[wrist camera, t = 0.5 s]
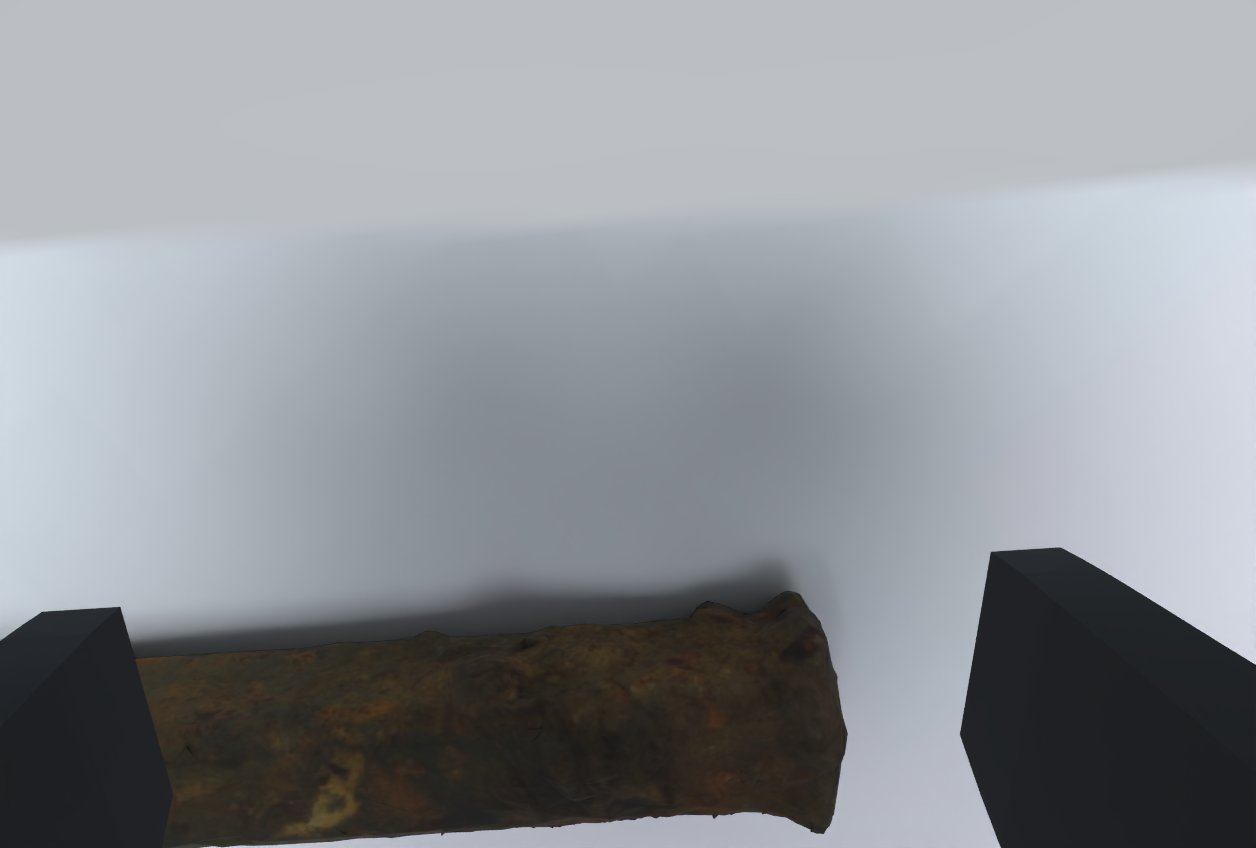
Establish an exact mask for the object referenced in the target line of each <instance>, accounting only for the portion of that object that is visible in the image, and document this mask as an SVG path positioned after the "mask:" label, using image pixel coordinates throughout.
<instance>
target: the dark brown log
mask: <svg viewBox="0 0 1256 848" xmlns="http://www.w3.org/2000/svg"><path fill="white" fill-rule="evenodd" d="M135 661H136V664H137V668H138V671H139V675H140V678H141V682H142V685H143V689H144V692H145V696H146V699H147V703H148V706H149V710H150V714H151V717H152V721H153V724H154V728H155V731H156V735H157V738H158V742H159V745H160V749H161V752H162V756H163V759H164V763H165V766H166V770H167V773H168V777H169V781H170V784H171V788H172V791H173V798H172V803H171V807H170V812H169V816H168V820H167V825H166V829H165V834H164V838H163V842H162V847H161V848H201V847H209V846H217V847H229V846H239V845H246V846H258V845H282V844H299V843H317V842H333V841H341V840H349V839H357V838H384V837H387V838H394V837H402V836H410V835H423V834H435V833H441V836H442V835H443V834H444V833H452V832H473V831H482V830H504V829H509V828H518V827H532V828H535V827H551V828H553V827H561V826H565V825H572V824H573V825H574V824H581V823H602V822H603V823H605V822H612V821H616V820H618V821H622V820H636V819H637V818H643V817H649V816H652V817H653V818H658V817H671V816H676V815H712V816H713V818H716V817H717V816H718V815H728V814H730V815H732V814H735V813H741V812H759V813H762V814H766V813H767V814H770V815H773V816H779V817H786V818H788V819H790V820H792V821H793V822H795V823H797V824H799V825H802V826H804V827H806V828H808V829H811V832H814V833H816V834H820V833H821V834H824V833H825V831H826V829H827V828H828V827H829V826H830V823H831V821H832V816H833V815H834V810H835V803H836V797H837V790H838V784H839V777H840V770H841V762H842V760H843V757H844V755H845V749H846V742H847V735H848V733H847V730H846V726H845V723H844V719H843V715H842V711H841V704H840V698H839V691H838V685H837V678H838V677H837V675H836V673H835V671H834V669H833V666H832V662H831V657H830V652H829V647H828V642H827V638H826V636H825V633H824V631H823V629H822V626H821V622H820V621H819V620H818V618H817V617H816V616H815V614H814V613H812V612H811V611H810V610H809V608H808V606H807V605H806V603H805V602H804V600H803V599H802V597H801V596H800V594H798V593H796V592H791V591H784V592H783V593H781V594H780V595H778V596H777V597H775V598H774V599H773V600H772V601H771V602H770V603H769V604H768V605H767V606H765V607H764V608H763V609H762V610H761V611H760V612H759V613H754V614H749V615H746V614H743V613H740V612H738V611H735V610H733V609H730V608H728V607H725V606H723V605H721V604H718V603H713V602H709V601H707V602H705V603H703V604H701V605H699V606H698V607H697V609H696V610H695V612H694V613H693V615H692V616H691V618H683V619H675V620H664V621H652V622H644V623H636V624H629V625H594V624H581V625H573V626H564V627H548V628H545V629H542V630H539V631H537V632H534V633H521V634H499V635H483V636H460V637H448V636H446V635H443V634H441V633H438V632H432V631H425V632H423V633H421V634H419V635H417V636H415V637H413V638H410V639H399V640H388V641H377V642H340V643H335V644H330V645H325V646H320V647H312V648H297V649H283V650H268V651H249V652H238V653H211V654H196V655H180V656H166V657H153V658H141V659H135Z"/></svg>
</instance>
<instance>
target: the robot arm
mask: <svg viewBox="0 0 1256 848" xmlns="http://www.w3.org/2000/svg"><path fill="white" fill-rule="evenodd" d="M960 736H961V739H962V742H963V745H964V748H965V751H966V754H967V756H968V759H969V762H970V765H971V768H972V771H973V774H974V777H975V780H976V783H977V785H978V788H979V791H980V794H981V797H982V799H983V802H984V805H985V807H986V810H987V813H988V815H989V818H990V821H991V823H992V826H993V829H994V831H995V834H996V836H997V839H998V842H999V844H1000V846H1001V848H1256V665H1255V664H1253V663H1252V662H1250V661H1248V660H1247V659H1245V658H1244V657H1242V656H1240V655H1239V654H1237V653H1235V652H1234V651H1232V650H1231V649H1229V648H1227V647H1226V646H1224V645H1222V644H1221V643H1219V642H1218V641H1216V640H1214V639H1213V638H1211V637H1210V636H1208V635H1206V634H1205V633H1203V632H1201V631H1200V630H1198V629H1197V628H1195V627H1193V626H1192V625H1190V624H1189V623H1187V622H1185V621H1184V620H1182V619H1181V618H1179V617H1177V616H1176V615H1174V614H1173V613H1171V612H1169V611H1168V610H1166V609H1165V608H1163V607H1161V606H1160V605H1158V604H1156V603H1155V602H1153V601H1152V600H1150V599H1148V598H1147V597H1145V596H1144V595H1142V594H1140V593H1139V592H1137V591H1135V590H1134V589H1132V588H1130V587H1129V586H1127V585H1126V584H1124V583H1122V582H1121V581H1119V580H1117V579H1116V578H1114V577H1112V576H1111V575H1109V574H1107V573H1106V572H1104V571H1102V570H1101V569H1099V568H1097V567H1095V566H1094V565H1092V564H1090V563H1088V562H1087V561H1085V560H1083V559H1081V558H1079V557H1077V556H1076V555H1074V554H1072V553H1070V552H1068V551H1066V550H1064V549H1062V548H1044V549H1029V550H1013V551H997V552H991V555H990V560H989V566H988V572H987V578H986V584H985V590H984V596H983V602H982V608H981V614H980V619H979V625H978V631H977V637H976V643H975V649H974V655H973V661H972V667H971V673H970V678H969V684H968V690H967V696H966V702H965V708H964V714H963V720H962V726H961V731H960ZM172 798H173V791H172V788H171V784H170V781H169V777H168V773H167V770H166V766H165V763H164V759H163V756H162V752H161V749H160V745H159V742H158V738H157V735H156V731H155V728H154V724H153V721H152V717H151V714H150V710H149V706H148V703H147V699H146V696H145V692H144V689H143V685H142V682H141V678H140V675H139V671H138V668H137V664H136V661H135V657H134V654H133V650H132V646H131V643H130V639H129V636H128V632H127V629H126V625H125V622H124V618H123V615H122V611H121V608H120V607H112V608H96V609H80V610H64V611H48V612H41V613H40V614H38V615H37V616H35V617H34V618H32V619H31V620H29V621H28V622H26V623H25V624H23V625H22V626H21V627H19V628H18V629H16V630H15V631H13V632H12V633H11V634H9V635H8V636H6V637H5V638H4V639H2V640H1V641H0V848H161V847H162V842H163V838H164V834H165V829H166V825H167V820H168V816H169V812H170V807H171V803H172Z"/></svg>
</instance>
